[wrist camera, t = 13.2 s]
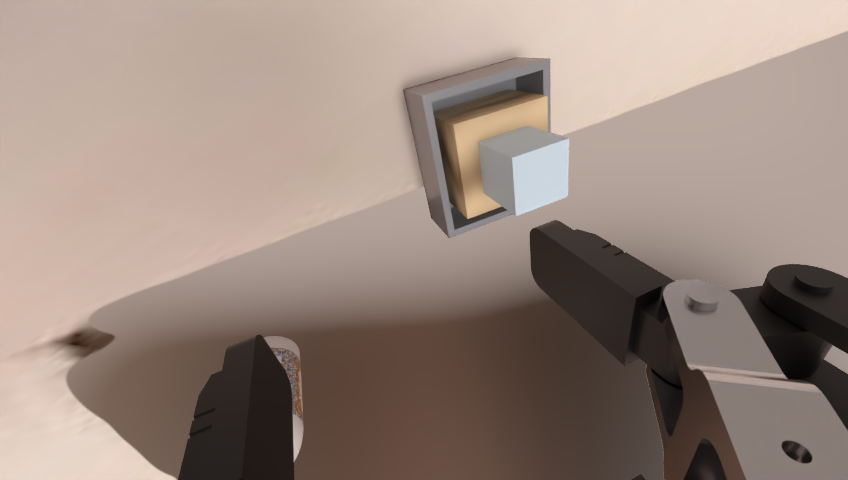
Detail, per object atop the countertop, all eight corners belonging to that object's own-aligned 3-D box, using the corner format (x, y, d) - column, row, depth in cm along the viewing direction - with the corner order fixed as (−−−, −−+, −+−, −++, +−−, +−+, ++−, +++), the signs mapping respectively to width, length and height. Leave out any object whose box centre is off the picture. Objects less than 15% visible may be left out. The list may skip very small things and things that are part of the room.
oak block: (427, 113, 37) (453, 124, 31) (508, 89, 39) (547, 95, 33) (442, 196, 43) (467, 218, 37) (513, 171, 44) (548, 189, 39)
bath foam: (293, 373, 48) (297, 541, 32) (237, 373, 45) (210, 559, 29) (305, 334, 46) (316, 494, 30) (247, 331, 43) (224, 508, 26)
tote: (403, 89, 36) (421, 95, 31) (517, 57, 39) (550, 58, 34) (431, 217, 44) (449, 238, 40) (523, 184, 47) (550, 200, 42)
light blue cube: (477, 141, 33) (512, 157, 28) (527, 125, 34) (569, 138, 29) (483, 193, 36) (515, 216, 31) (529, 176, 37) (567, 196, 32)
